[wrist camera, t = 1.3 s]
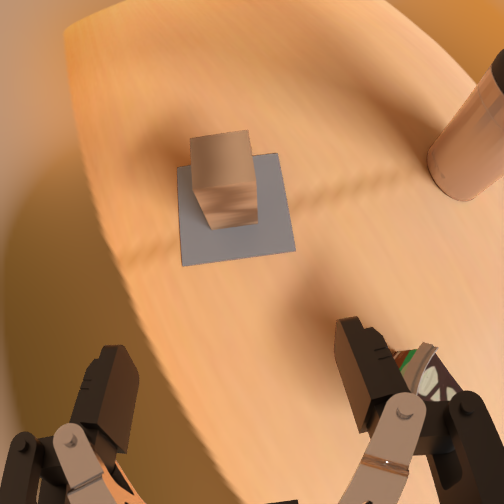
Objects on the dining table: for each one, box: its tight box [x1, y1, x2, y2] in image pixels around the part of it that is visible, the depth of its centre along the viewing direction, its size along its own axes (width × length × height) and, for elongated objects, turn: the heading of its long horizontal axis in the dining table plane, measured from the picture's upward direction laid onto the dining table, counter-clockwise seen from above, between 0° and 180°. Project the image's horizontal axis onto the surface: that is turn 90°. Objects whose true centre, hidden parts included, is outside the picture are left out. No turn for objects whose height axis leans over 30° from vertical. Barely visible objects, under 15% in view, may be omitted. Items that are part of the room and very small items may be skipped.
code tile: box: [177, 153, 296, 266], centre depth 35 cm, size 12×12×1 cm
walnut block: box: [190, 130, 258, 230], centre depth 30 cm, size 5×5×10 cm
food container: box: [392, 342, 463, 401], centre depth 24 cm, size 12×6×10 cm, turn 39°
